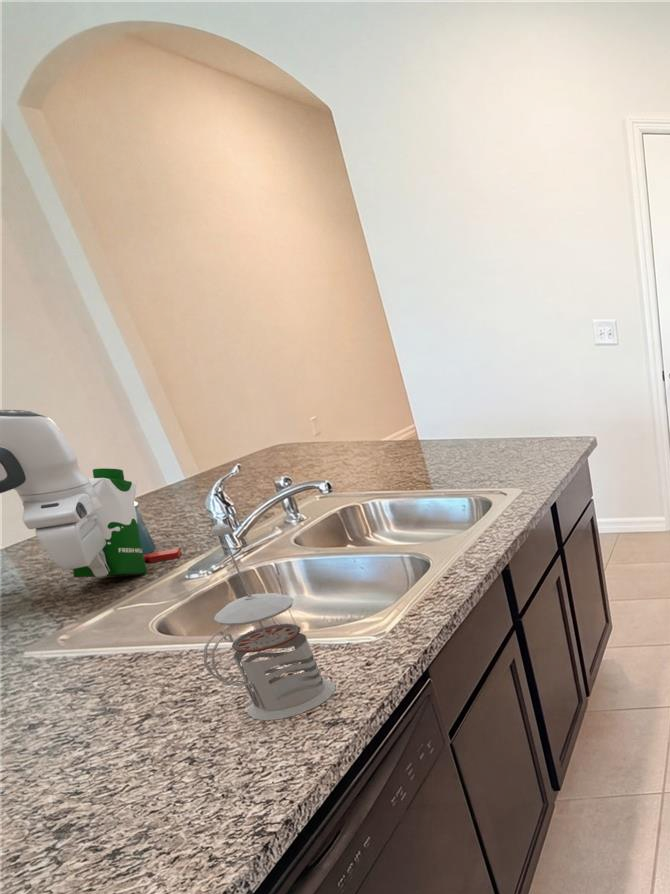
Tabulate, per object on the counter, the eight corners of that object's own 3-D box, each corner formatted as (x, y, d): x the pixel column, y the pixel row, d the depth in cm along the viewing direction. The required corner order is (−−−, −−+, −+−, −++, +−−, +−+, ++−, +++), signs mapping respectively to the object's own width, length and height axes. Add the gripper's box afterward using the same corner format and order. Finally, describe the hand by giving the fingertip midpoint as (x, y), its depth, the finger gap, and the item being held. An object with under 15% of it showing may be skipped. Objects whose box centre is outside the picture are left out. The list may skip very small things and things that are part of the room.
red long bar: (76, 575, 128) (73, 569, 128) (80, 570, 131) (77, 564, 130) (179, 557, 136) (176, 551, 136) (181, 553, 139) (178, 547, 138)
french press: (351, 687, 91) (287, 516, 80) (261, 735, 81) (174, 549, 70) (307, 673, 94) (240, 507, 83) (215, 717, 85) (126, 537, 74)
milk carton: (119, 573, 121) (102, 465, 120) (62, 578, 120) (44, 469, 118) (156, 572, 130) (140, 472, 129) (103, 577, 128) (87, 475, 127)
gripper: (57, 492, 121) (95, 561, 127) (18, 523, 105) (64, 599, 112) (102, 486, 124) (138, 553, 130) (71, 514, 108) (113, 589, 115)
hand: (103, 574), depth 121 cm, fingers closed
